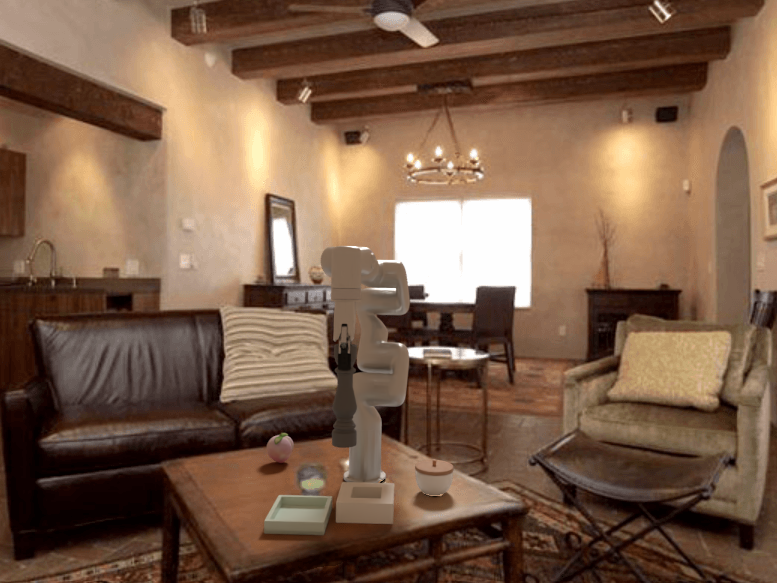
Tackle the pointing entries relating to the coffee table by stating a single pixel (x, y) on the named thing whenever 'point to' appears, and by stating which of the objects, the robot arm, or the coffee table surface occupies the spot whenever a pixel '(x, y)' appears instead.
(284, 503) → the parts tray
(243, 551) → the coffee table surface
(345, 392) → the candle holder
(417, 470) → the lidded jar
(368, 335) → the robot arm
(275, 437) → the decorative fruit
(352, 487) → the socket block
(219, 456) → the coffee table surface
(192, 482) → the coffee table surface
